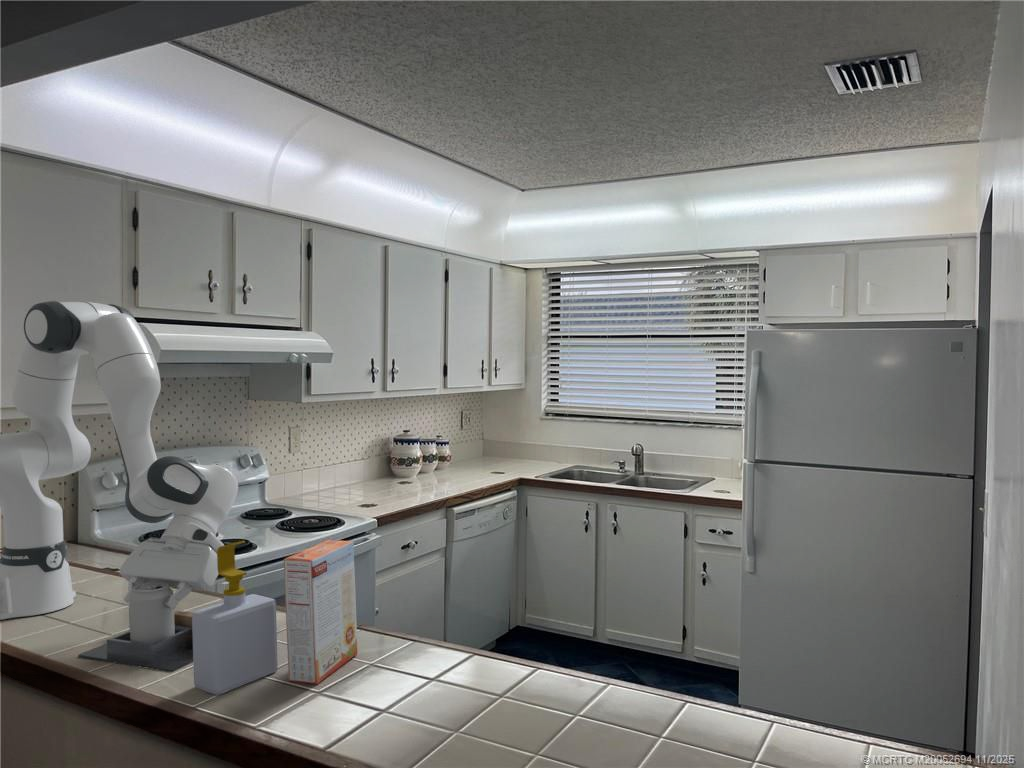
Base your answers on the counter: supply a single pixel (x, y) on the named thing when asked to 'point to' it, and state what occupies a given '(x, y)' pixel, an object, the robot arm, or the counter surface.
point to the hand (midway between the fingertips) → (148, 604)
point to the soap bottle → (233, 634)
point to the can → (150, 613)
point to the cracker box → (320, 610)
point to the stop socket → (148, 651)
